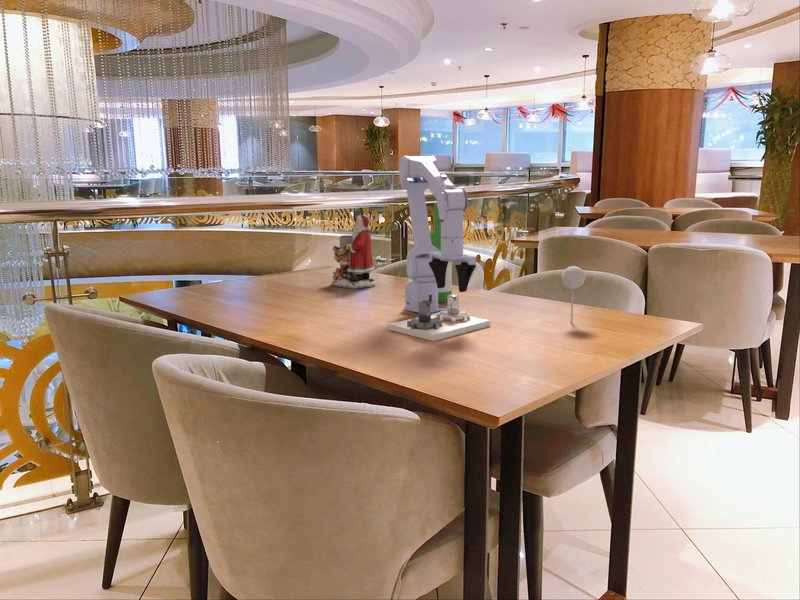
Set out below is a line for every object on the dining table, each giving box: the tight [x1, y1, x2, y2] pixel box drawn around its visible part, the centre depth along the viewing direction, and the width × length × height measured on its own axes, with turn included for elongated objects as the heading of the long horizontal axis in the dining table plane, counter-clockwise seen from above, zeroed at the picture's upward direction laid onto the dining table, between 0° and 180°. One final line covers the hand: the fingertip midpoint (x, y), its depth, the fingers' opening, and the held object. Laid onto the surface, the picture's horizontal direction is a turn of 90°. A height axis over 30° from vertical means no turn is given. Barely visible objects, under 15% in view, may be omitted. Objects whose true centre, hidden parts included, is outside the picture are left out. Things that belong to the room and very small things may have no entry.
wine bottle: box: [430, 202, 453, 304], centre depth 197 cm, size 8×8×30 cm
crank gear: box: [407, 294, 442, 330], centre depth 162 cm, size 9×9×8 cm
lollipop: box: [560, 265, 587, 324], centre depth 169 cm, size 6×6×15 cm
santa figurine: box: [331, 214, 377, 290], centre depth 226 cm, size 17×14×25 cm
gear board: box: [388, 311, 491, 342], centre depth 166 cm, size 16×21×2 cm
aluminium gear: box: [435, 294, 471, 322], centre depth 169 cm, size 9×9×6 cm
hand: (451, 289), depth 168 cm, fingers open, 7 cm apart
